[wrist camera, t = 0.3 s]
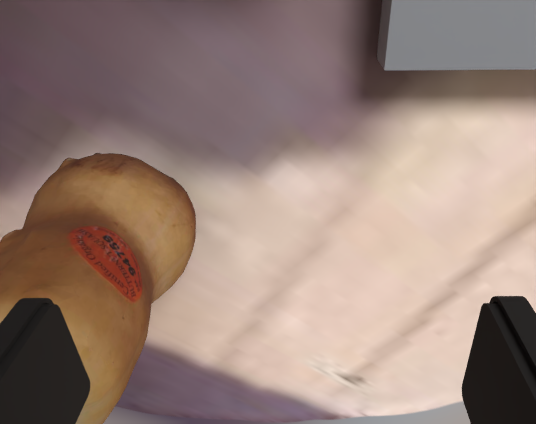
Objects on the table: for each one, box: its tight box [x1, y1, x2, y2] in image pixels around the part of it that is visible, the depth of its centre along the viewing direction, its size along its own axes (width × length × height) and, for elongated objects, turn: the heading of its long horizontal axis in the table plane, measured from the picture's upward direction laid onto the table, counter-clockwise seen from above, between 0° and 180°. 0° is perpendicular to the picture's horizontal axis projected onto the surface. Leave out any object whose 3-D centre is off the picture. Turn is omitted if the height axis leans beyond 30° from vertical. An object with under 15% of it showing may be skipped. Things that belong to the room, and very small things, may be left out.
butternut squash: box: [0, 153, 196, 424], centre depth 34 cm, size 14×13×25 cm
